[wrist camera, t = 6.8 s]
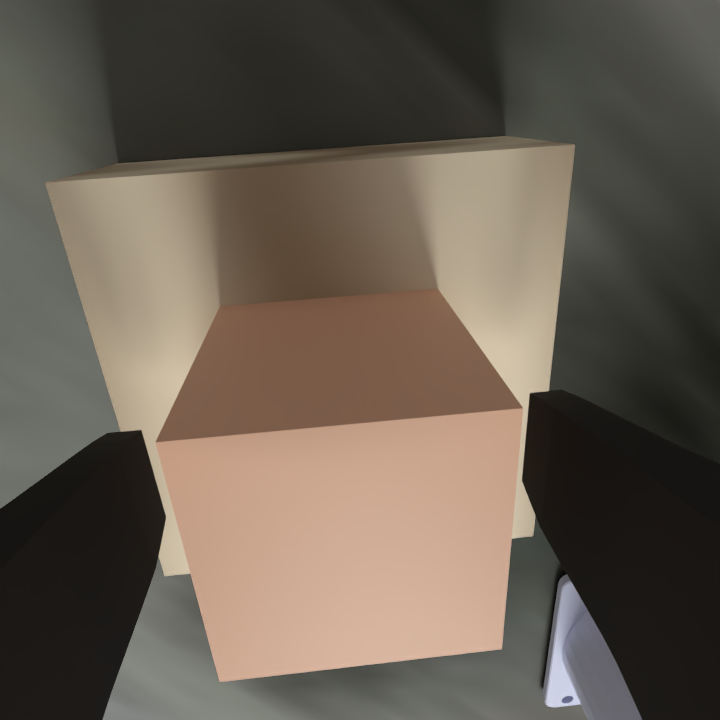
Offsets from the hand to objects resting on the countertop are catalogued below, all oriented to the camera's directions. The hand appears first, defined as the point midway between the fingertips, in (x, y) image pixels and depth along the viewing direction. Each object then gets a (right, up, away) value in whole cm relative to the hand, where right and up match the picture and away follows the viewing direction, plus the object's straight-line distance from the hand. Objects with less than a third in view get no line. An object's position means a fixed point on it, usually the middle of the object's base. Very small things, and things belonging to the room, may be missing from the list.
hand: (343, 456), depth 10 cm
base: (-1, +3, +6) cm, 6 cm away
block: (0, +1, +2) cm, 2 cm away
